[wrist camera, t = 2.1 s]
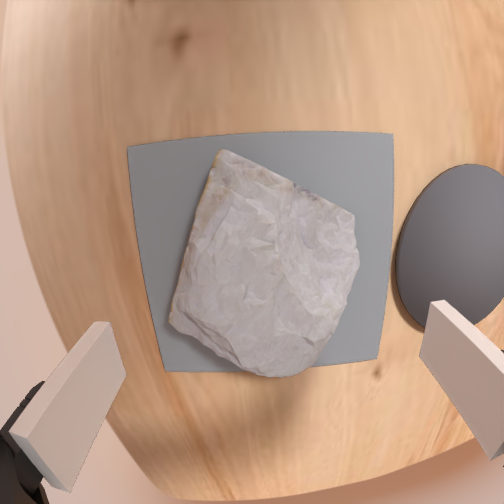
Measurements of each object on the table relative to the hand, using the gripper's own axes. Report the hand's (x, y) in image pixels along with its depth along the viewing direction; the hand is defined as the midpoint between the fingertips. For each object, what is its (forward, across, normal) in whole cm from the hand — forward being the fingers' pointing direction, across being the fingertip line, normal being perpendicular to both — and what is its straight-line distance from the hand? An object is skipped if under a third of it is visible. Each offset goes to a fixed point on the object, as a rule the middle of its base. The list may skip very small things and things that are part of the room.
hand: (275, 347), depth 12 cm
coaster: (+8, +15, 0) cm, 17 cm away
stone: (+8, 0, 0) cm, 8 cm away
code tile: (+8, 0, 0) cm, 8 cm away
